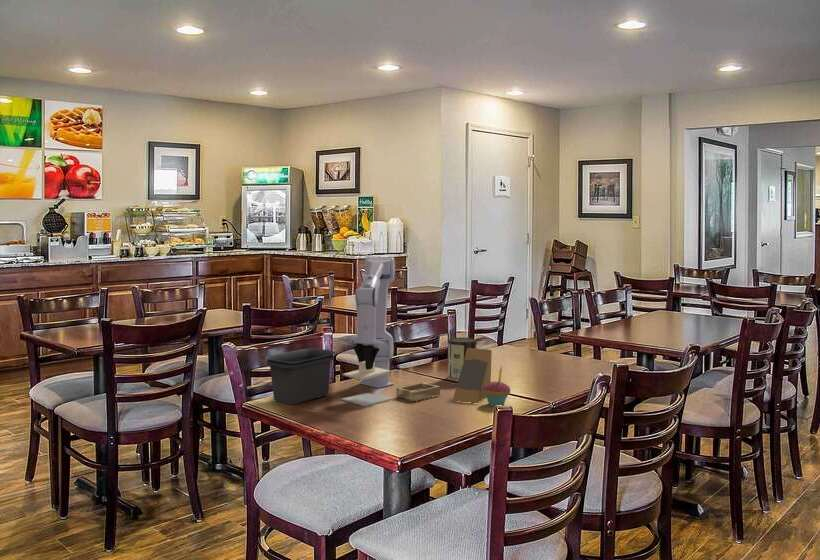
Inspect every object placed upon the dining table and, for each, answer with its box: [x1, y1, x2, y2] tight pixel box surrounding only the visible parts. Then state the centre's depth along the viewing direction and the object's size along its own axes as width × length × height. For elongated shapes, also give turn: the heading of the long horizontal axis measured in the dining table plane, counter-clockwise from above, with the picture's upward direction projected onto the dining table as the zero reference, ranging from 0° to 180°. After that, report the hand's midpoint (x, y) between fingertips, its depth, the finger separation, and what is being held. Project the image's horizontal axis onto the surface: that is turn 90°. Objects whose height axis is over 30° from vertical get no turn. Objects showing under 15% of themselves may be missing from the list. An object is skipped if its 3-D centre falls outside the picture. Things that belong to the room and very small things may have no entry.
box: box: [395, 382, 441, 402], centre depth 240 cm, size 8×12×3 cm, turn 136°
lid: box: [342, 361, 392, 381], centre depth 234 cm, size 9×13×5 cm
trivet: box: [341, 392, 392, 407], centre depth 234 cm, size 11×11×1 cm
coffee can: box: [447, 337, 478, 382], centre depth 267 cm, size 10×10×14 cm
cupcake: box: [483, 365, 511, 407], centre depth 230 cm, size 9×8×12 cm
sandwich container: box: [452, 347, 493, 404], centre depth 239 cm, size 9×15×15 cm, turn 157°
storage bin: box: [265, 347, 336, 406], centre depth 236 cm, size 21×16×14 cm
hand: (366, 368), depth 234 cm, fingers closed on lid, 2 cm apart
